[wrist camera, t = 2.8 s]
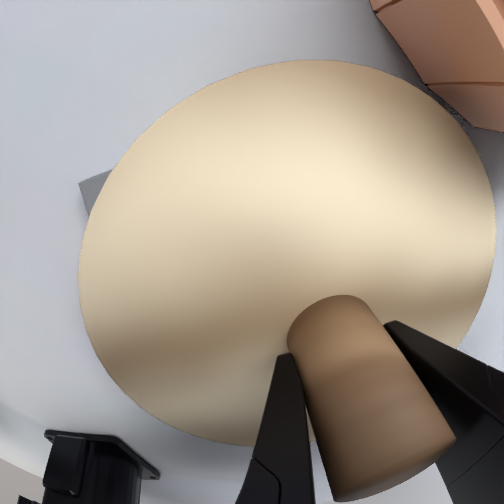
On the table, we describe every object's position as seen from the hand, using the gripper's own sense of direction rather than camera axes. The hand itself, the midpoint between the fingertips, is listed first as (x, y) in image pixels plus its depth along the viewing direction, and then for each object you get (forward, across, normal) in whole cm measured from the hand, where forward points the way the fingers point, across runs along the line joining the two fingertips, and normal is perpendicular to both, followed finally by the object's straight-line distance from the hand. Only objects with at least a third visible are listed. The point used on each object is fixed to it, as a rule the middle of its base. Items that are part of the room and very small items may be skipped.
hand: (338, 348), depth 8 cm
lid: (+2, 0, 0) cm, 2 cm away
